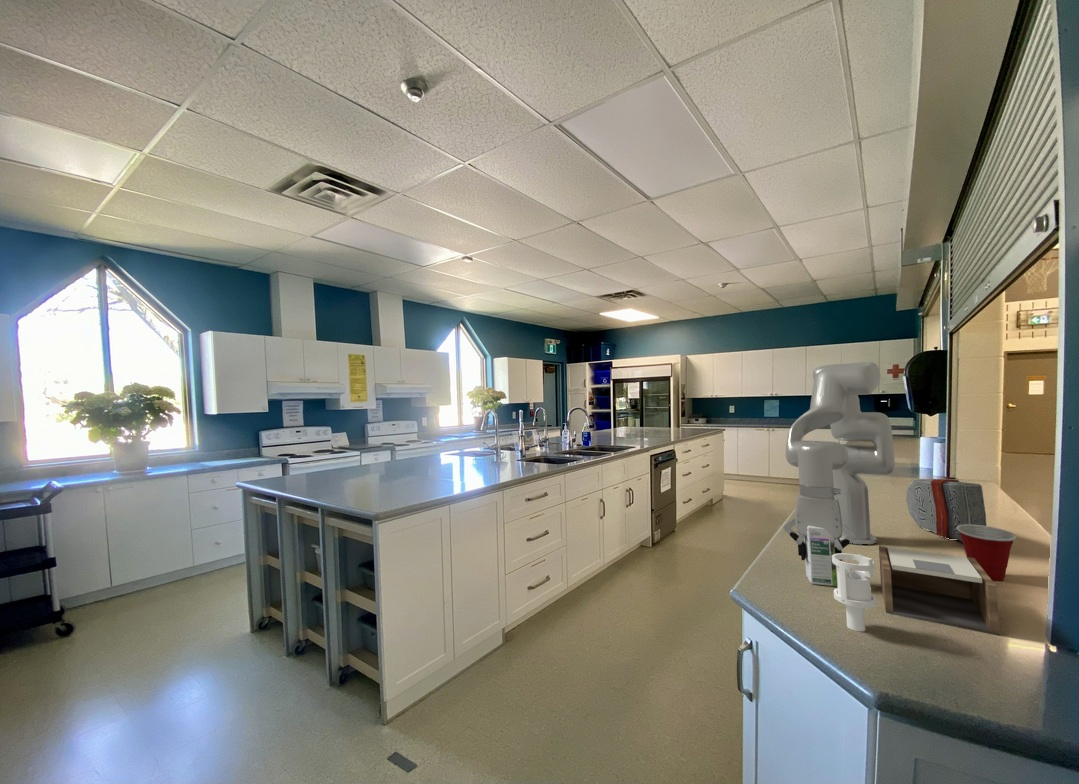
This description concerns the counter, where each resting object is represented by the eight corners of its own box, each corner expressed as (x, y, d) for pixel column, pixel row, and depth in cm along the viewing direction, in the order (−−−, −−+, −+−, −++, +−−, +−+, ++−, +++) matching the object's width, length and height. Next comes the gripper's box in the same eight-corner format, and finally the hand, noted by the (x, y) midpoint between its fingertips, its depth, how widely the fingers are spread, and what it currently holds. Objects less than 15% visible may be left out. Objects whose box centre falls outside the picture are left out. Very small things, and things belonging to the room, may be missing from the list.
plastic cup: (974, 583, 107) (970, 534, 107) (950, 567, 117) (947, 523, 117) (1032, 588, 103) (1028, 538, 103) (1002, 571, 113) (998, 525, 113)
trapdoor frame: (880, 583, 108) (878, 545, 108) (976, 600, 98) (974, 558, 98) (886, 612, 93) (883, 568, 93) (999, 635, 83) (996, 586, 83)
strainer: (864, 640, 83) (860, 561, 83) (827, 623, 89) (823, 551, 90) (885, 631, 86) (881, 555, 86) (848, 616, 92) (844, 545, 93)
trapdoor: (887, 551, 105) (887, 546, 105) (966, 561, 97) (966, 556, 97) (892, 569, 94) (892, 564, 94) (982, 583, 86) (981, 577, 86)
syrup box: (810, 584, 108) (808, 526, 109) (805, 575, 114) (803, 520, 114) (837, 587, 106) (834, 528, 107) (830, 578, 112) (828, 522, 112)
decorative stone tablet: (986, 482, 130) (920, 475, 159) (961, 482, 132) (900, 475, 161) (994, 548, 128) (926, 529, 157) (969, 547, 129) (906, 528, 158)
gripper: (857, 492, 109) (861, 563, 108) (780, 486, 119) (783, 551, 118) (858, 497, 103) (862, 573, 102) (776, 491, 113) (779, 559, 112)
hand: (820, 560), depth 110 cm, fingers closed on syrup box, 6 cm apart
